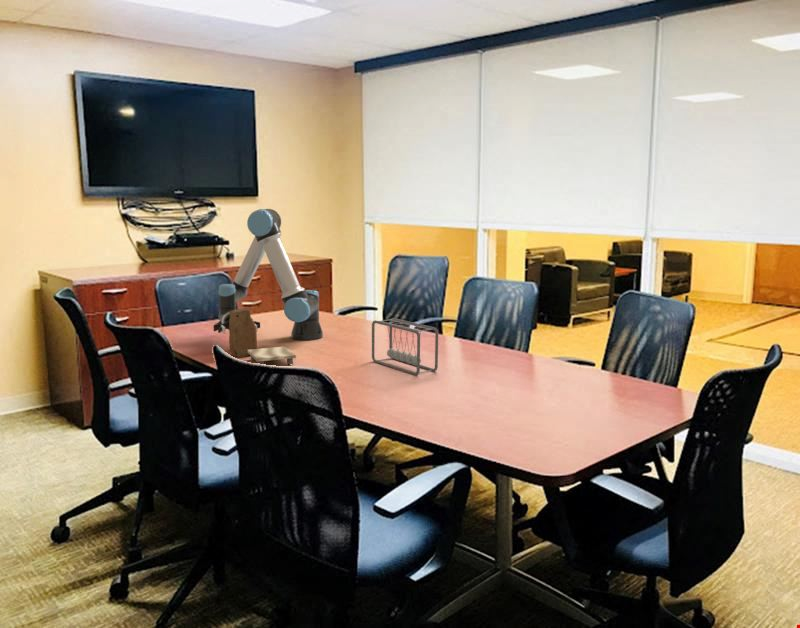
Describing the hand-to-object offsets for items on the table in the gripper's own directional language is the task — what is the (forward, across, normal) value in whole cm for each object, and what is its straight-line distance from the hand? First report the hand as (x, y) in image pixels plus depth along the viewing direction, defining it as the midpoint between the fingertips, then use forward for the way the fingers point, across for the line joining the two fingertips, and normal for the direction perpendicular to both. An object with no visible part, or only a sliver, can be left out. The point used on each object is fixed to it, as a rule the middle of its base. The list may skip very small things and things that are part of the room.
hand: (240, 329), depth 294 cm
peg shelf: (+18, -9, -11) cm, 23 cm away
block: (+1, -1, -11) cm, 11 cm away
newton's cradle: (+44, -57, -11) cm, 73 cm away
